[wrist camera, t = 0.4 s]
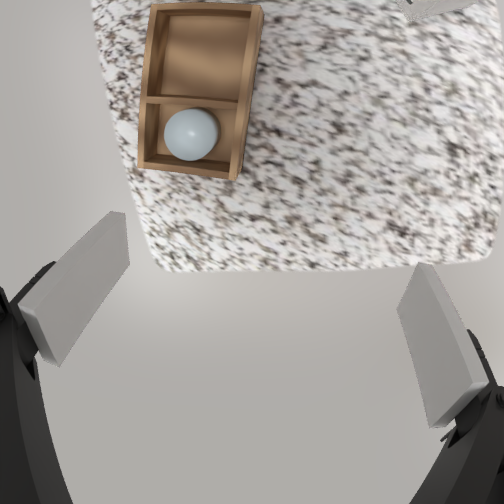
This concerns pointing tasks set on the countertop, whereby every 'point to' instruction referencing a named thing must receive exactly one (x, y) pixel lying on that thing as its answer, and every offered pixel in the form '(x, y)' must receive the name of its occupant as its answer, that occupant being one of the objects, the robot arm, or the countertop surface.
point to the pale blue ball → (192, 133)
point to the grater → (430, 7)
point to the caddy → (199, 80)
